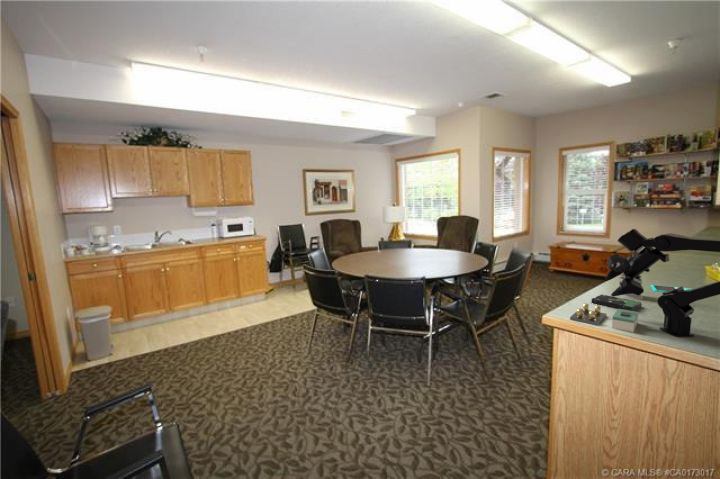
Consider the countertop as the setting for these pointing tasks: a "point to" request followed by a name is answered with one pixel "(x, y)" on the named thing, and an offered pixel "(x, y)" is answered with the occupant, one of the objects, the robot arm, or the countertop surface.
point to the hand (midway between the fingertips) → (609, 287)
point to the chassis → (589, 315)
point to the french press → (631, 296)
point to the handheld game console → (664, 288)
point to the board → (625, 320)
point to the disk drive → (616, 303)
